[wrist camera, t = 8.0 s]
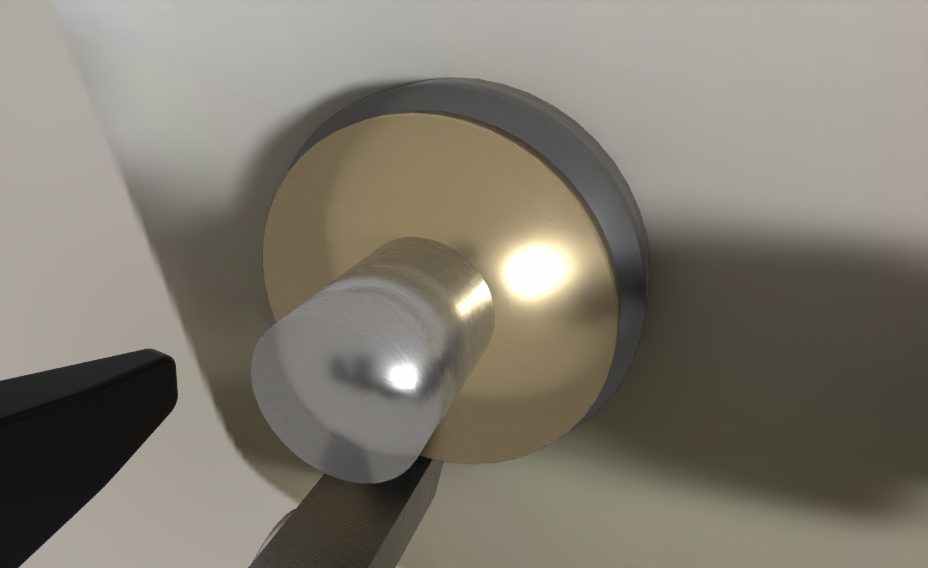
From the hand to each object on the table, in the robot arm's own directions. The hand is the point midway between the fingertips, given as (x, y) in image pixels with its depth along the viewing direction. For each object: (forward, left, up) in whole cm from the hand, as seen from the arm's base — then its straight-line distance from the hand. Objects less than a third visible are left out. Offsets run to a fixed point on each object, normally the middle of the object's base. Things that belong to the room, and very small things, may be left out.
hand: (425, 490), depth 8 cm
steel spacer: (+3, +2, -8) cm, 9 cm away
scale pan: (+3, +3, -9) cm, 10 cm away
